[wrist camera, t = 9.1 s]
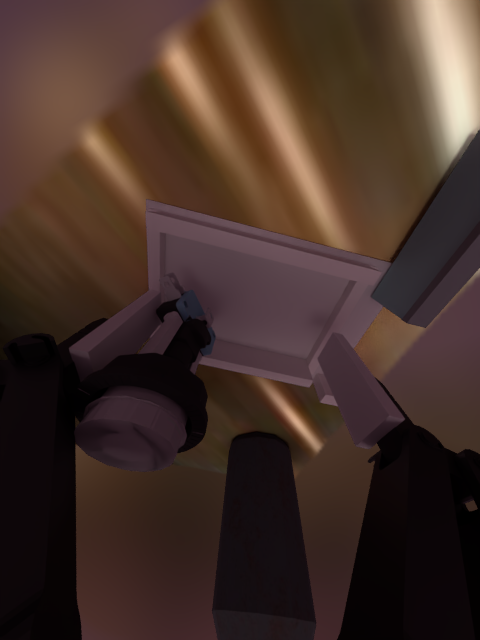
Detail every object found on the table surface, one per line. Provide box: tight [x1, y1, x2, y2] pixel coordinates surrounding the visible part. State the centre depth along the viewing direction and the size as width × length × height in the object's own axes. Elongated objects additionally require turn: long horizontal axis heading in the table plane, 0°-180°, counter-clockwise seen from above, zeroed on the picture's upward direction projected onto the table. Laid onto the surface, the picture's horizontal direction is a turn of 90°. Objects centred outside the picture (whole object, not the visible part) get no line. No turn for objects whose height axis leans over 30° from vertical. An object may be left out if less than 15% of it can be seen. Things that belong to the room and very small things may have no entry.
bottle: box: [212, 432, 316, 640], centre depth 18 cm, size 10×10×30 cm
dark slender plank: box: [371, 130, 480, 328], centre depth 11 cm, size 1×11×4 cm, turn 167°
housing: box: [146, 199, 393, 406], centre depth 17 cm, size 22×14×3 cm
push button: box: [71, 272, 216, 472], centre depth 11 cm, size 7×5×10 cm
